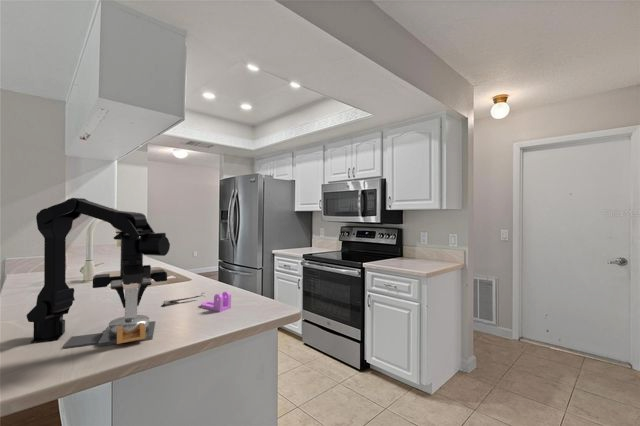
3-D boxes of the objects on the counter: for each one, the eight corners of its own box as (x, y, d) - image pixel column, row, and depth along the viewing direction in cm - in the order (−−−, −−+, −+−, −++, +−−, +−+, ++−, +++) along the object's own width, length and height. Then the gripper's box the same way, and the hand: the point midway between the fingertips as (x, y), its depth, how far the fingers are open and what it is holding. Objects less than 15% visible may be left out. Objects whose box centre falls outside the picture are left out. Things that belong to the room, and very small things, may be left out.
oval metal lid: (108, 328, 100) (108, 314, 100) (146, 321, 106) (147, 308, 106) (108, 345, 88) (109, 329, 87) (152, 337, 94) (152, 322, 94)
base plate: (97, 346, 90) (97, 343, 90) (107, 329, 102) (107, 326, 102) (152, 339, 95) (152, 335, 95) (155, 323, 108) (155, 321, 108)
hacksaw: (162, 308, 127) (162, 304, 127) (154, 302, 134) (154, 299, 134) (217, 297, 144) (217, 294, 144) (207, 293, 151) (207, 290, 151)
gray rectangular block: (125, 318, 90) (125, 291, 90) (124, 315, 93) (125, 289, 93) (137, 316, 92) (137, 290, 92) (136, 313, 95) (136, 287, 95)
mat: (63, 348, 88) (63, 347, 88) (71, 338, 95) (71, 336, 95) (97, 344, 91) (97, 342, 91) (103, 334, 98) (103, 332, 98)
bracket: (230, 308, 127) (231, 291, 127) (220, 312, 122) (220, 294, 122) (208, 303, 133) (209, 287, 133) (198, 307, 129) (198, 290, 129)
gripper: (92, 260, 81) (91, 320, 81) (170, 256, 91) (169, 309, 91) (93, 255, 90) (92, 309, 90) (164, 251, 100) (163, 299, 100)
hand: (130, 306), depth 93 cm, fingers closed on gray rectangular block, 3 cm apart
